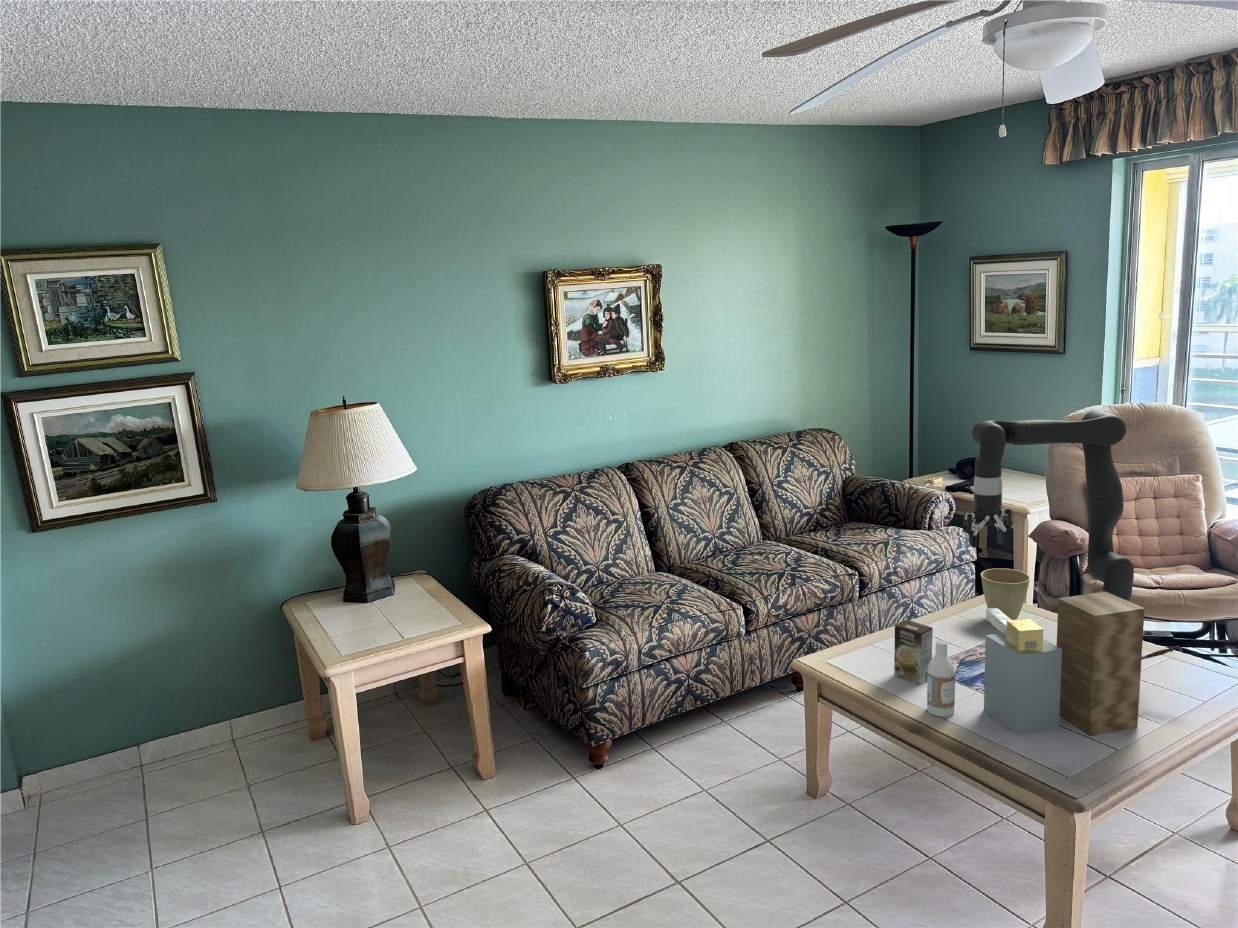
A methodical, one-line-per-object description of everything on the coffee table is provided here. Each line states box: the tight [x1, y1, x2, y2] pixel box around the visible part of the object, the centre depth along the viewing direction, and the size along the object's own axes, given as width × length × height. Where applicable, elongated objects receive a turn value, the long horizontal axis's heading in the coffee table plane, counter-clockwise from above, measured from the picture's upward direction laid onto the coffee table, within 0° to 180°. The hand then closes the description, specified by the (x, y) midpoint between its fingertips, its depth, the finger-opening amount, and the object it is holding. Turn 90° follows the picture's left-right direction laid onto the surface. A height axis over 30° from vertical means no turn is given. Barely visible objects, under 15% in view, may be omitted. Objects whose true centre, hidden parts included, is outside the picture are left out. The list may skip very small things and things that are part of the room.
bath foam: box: [926, 639, 956, 718], centre depth 235 cm, size 7×7×20 cm
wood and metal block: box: [985, 608, 1044, 653], centre depth 231 cm, size 6×23×6 cm, turn 1°
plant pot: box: [980, 567, 1031, 620], centre depth 293 cm, size 15×15×16 cm
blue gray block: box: [983, 632, 1062, 736], centre depth 229 cm, size 12×14×22 cm
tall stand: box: [1056, 591, 1145, 737], centre depth 225 cm, size 14×13×32 cm
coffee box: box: [893, 618, 934, 686], centre depth 256 cm, size 9×6×16 cm
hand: (987, 545), depth 254 cm, fingers open, 8 cm apart
